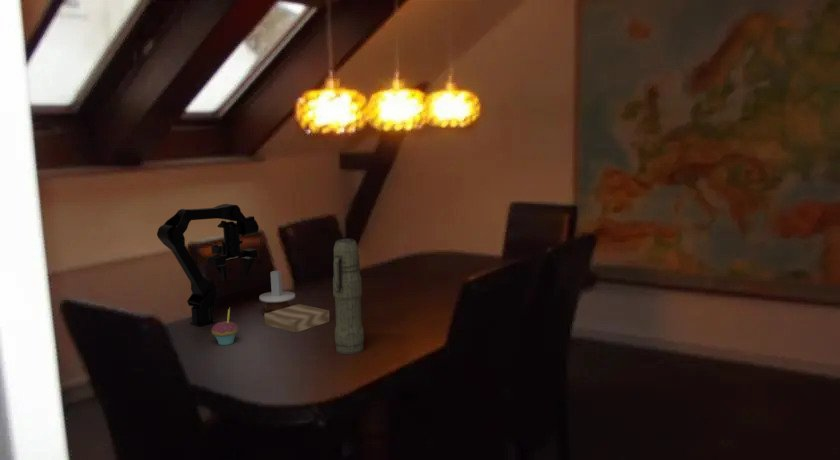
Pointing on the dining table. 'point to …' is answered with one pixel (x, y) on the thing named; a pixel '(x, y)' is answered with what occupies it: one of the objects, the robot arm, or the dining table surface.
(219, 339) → the cupcake
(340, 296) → the thermos
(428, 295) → the dining table surface
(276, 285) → the white peg stand
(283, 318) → the trivet
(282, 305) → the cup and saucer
